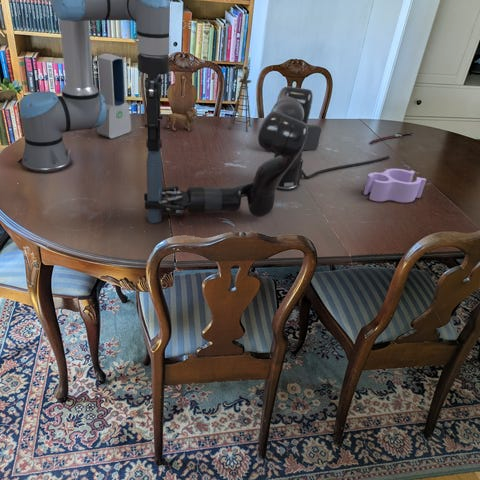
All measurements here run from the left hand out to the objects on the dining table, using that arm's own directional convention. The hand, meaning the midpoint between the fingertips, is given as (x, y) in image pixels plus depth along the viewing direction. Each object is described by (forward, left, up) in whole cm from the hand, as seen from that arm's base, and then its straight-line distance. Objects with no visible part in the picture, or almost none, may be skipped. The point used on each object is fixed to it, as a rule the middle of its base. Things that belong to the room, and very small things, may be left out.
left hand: (154, 146), depth 124 cm
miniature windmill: (+14, +88, -22) cm, 92 cm away
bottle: (0, 0, -22) cm, 22 cm away
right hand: (-3, -1, -16) cm, 16 cm away
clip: (+74, +39, -22) cm, 86 cm away
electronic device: (-34, +61, -22) cm, 73 cm away
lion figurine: (-10, +76, -22) cm, 80 cm away
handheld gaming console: (+38, +69, -22) cm, 82 cm away
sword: (+83, +99, -22) cm, 131 cm away
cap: (0, 0, +1) cm, 1 cm away
